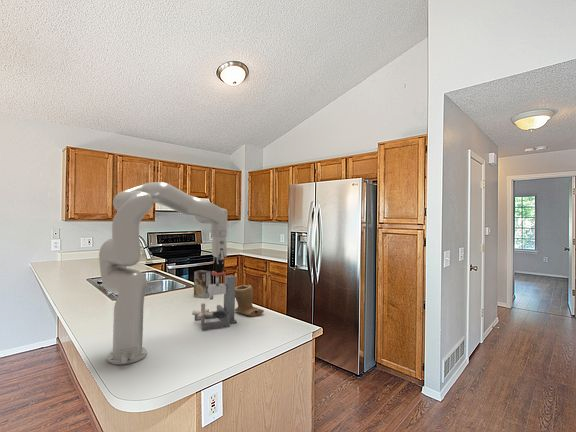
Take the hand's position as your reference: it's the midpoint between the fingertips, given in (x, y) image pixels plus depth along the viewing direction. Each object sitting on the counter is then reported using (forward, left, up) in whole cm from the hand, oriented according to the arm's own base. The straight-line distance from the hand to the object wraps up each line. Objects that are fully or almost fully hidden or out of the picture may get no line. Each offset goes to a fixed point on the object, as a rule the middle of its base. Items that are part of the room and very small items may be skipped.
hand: (218, 270), depth 149 cm
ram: (0, 0, -13) cm, 13 cm away
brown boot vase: (+7, -18, -25) cm, 32 cm away
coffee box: (+50, -5, -25) cm, 56 cm away
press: (0, 0, -25) cm, 25 cm away
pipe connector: (0, +7, -25) cm, 26 cm away
